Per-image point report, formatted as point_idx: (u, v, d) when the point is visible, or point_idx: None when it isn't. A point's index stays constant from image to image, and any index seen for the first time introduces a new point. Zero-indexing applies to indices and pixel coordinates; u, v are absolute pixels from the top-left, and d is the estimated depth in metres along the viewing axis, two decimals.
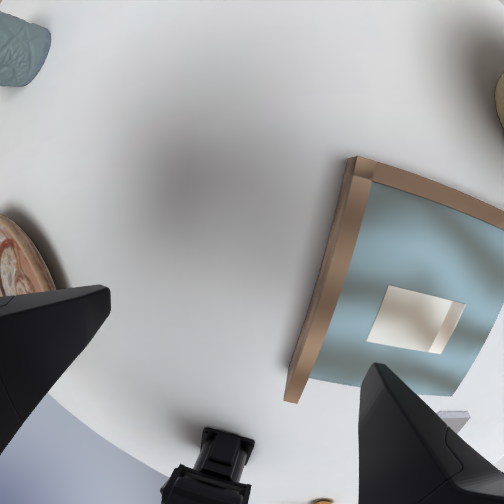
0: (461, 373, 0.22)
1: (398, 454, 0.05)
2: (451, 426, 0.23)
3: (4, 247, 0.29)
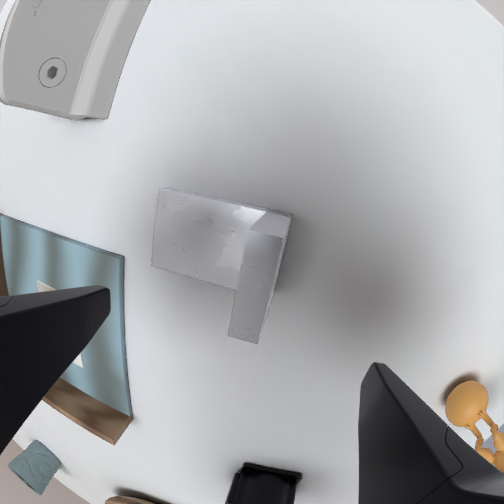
0: (87, 258, 0.20)
1: (398, 454, 0.05)
2: (177, 230, 0.17)
3: None
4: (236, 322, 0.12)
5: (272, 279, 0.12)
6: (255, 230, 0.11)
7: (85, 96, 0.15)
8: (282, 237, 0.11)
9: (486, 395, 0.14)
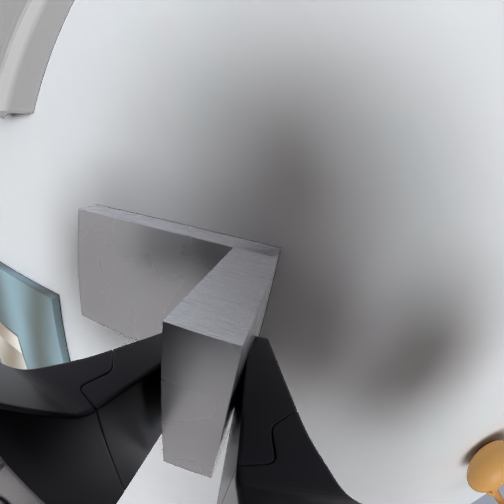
0: (22, 292, 0.13)
1: (233, 430, 0.05)
2: (106, 270, 0.10)
3: None
4: (172, 451, 0.06)
5: (224, 412, 0.05)
6: (180, 322, 0.05)
7: (5, 87, 0.09)
8: (241, 342, 0.05)
9: None
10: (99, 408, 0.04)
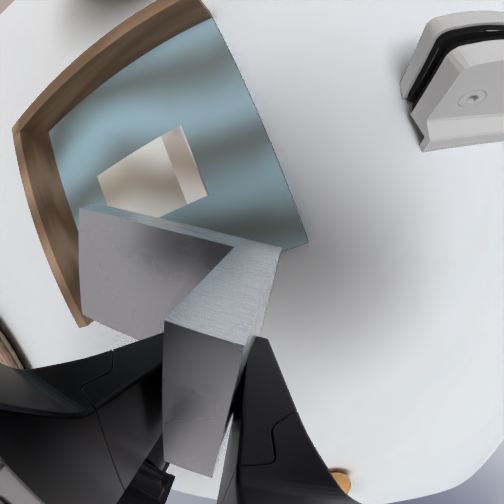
0: (279, 200, 0.19)
1: (233, 430, 0.05)
2: (106, 269, 0.10)
3: None
4: (173, 451, 0.06)
5: (225, 411, 0.05)
6: (182, 321, 0.05)
7: (445, 131, 0.14)
8: (243, 342, 0.05)
9: (348, 491, 0.23)
10: (99, 408, 0.04)
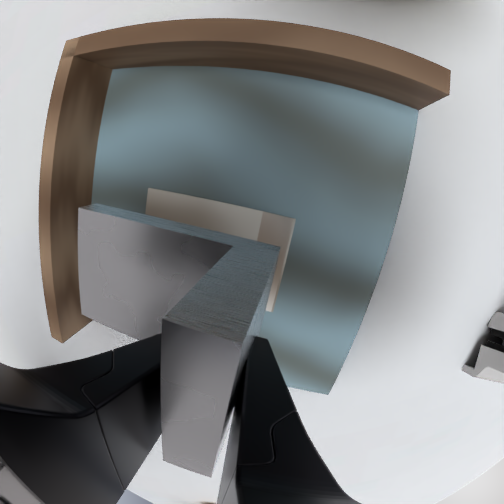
0: (333, 356, 0.16)
1: (233, 430, 0.05)
2: (105, 269, 0.10)
3: None
4: (172, 450, 0.06)
5: (223, 410, 0.05)
6: (180, 319, 0.05)
7: (489, 375, 0.13)
8: (240, 340, 0.05)
9: None
10: (99, 408, 0.04)
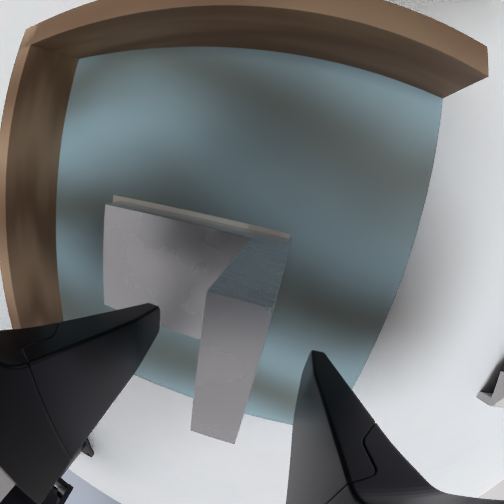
0: None
1: (315, 447, 0.05)
2: (131, 260, 0.12)
3: None
4: (201, 418, 0.07)
5: (253, 370, 0.06)
6: (221, 291, 0.06)
7: None
8: (270, 306, 0.06)
9: None
10: (32, 364, 0.04)
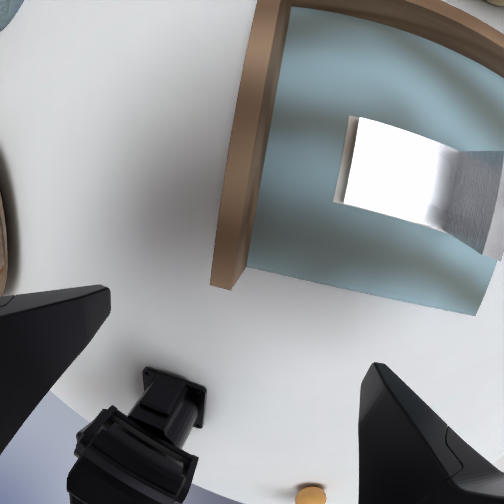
0: (484, 275, 0.16)
1: (398, 454, 0.05)
2: (380, 162, 0.14)
3: None
4: (491, 239, 0.10)
5: None
6: None
7: None
8: None
9: None
10: None
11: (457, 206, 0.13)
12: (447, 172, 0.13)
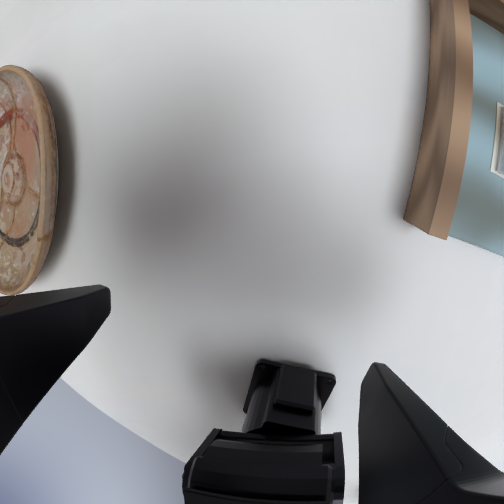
0: None
1: (398, 454, 0.05)
2: None
3: None
4: None
5: None
6: None
7: None
8: None
9: None
10: None
11: None
12: None
